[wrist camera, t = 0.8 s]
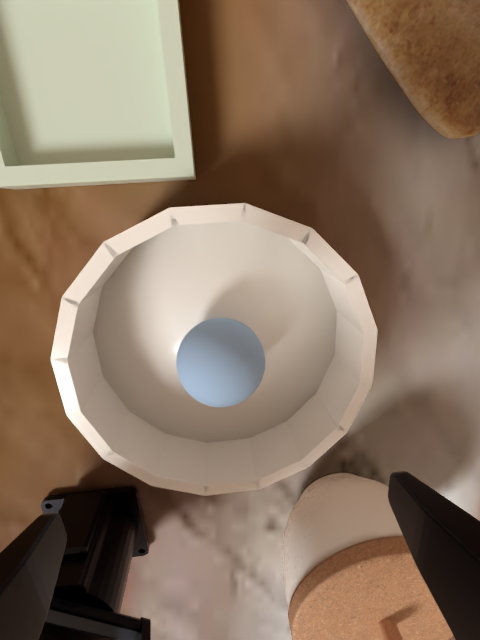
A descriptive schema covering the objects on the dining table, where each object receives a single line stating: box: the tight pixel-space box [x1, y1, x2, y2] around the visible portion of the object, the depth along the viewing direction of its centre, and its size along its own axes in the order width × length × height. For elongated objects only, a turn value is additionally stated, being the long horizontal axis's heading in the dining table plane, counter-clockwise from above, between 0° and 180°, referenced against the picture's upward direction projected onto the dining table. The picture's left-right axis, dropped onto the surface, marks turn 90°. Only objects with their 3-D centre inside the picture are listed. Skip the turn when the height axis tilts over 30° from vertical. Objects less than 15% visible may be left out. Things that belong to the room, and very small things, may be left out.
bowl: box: [50, 203, 378, 496], centre depth 18 cm, size 15×15×4 cm
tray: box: [0, 0, 196, 189], centre depth 14 cm, size 9×9×2 cm
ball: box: [176, 318, 265, 407], centre depth 17 cm, size 5×5×5 cm
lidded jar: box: [282, 473, 453, 640], centre depth 21 cm, size 11×11×9 cm
